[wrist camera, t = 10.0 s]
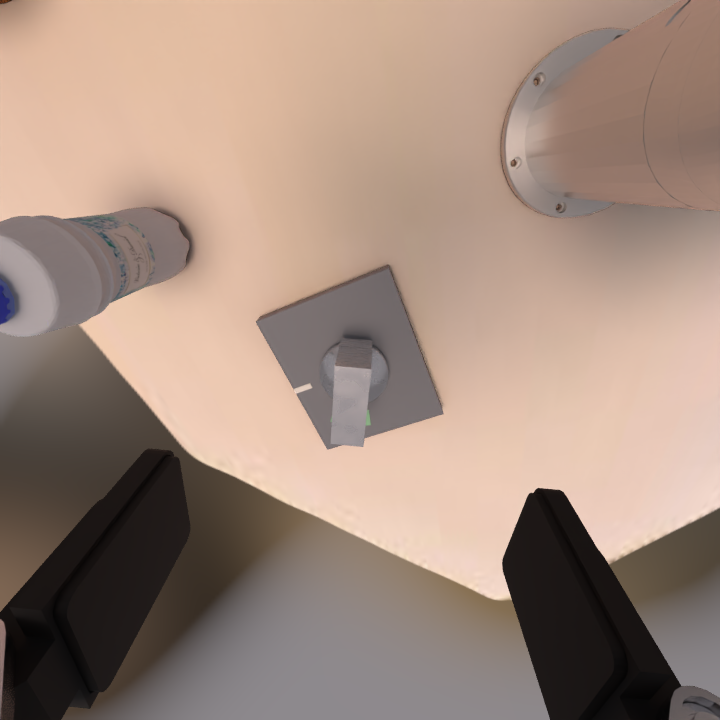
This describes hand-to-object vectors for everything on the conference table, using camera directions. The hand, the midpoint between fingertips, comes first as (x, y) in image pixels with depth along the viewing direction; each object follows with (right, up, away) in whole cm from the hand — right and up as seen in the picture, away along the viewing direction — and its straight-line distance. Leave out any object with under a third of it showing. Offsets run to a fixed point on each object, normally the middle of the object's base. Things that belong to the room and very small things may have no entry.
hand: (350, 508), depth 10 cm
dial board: (0, +4, +30) cm, 30 cm away
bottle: (-18, +15, +25) cm, 35 cm away
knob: (0, +2, +29) cm, 29 cm away
